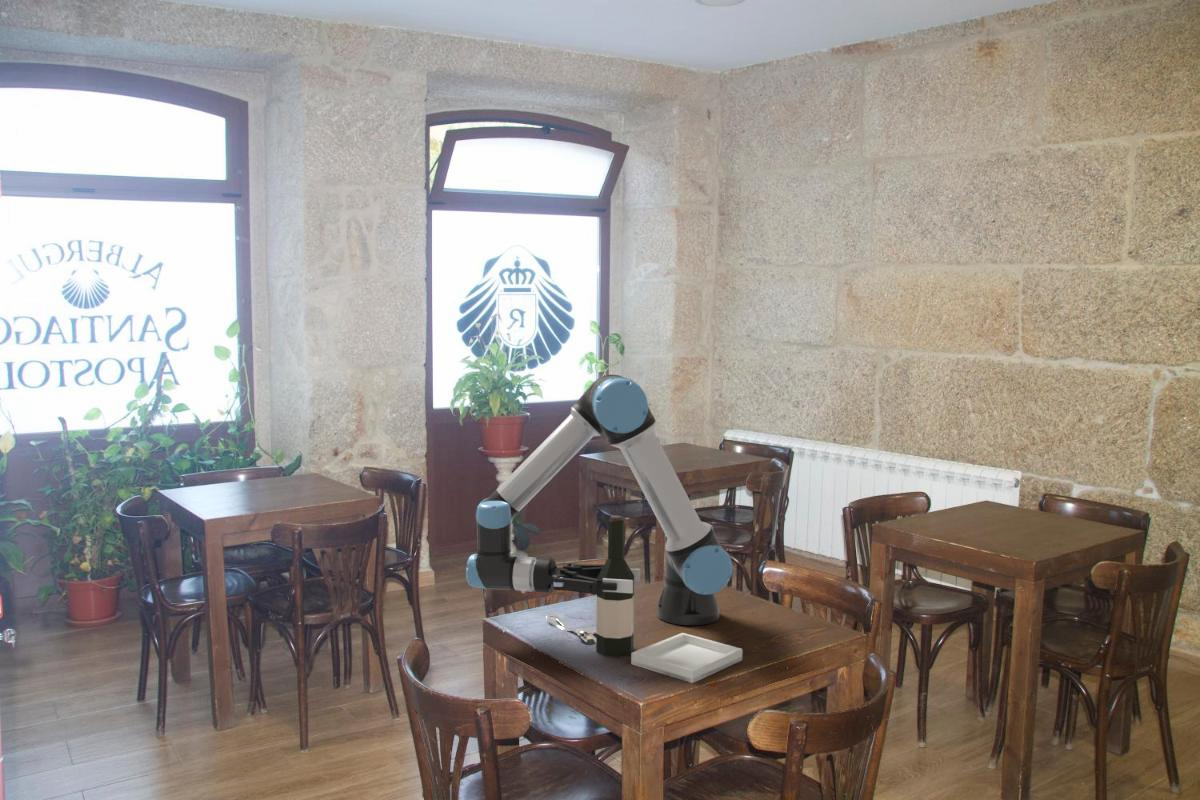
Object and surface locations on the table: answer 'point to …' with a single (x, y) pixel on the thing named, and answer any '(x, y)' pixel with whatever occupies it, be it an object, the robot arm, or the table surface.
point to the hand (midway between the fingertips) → (636, 580)
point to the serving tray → (686, 657)
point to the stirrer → (583, 633)
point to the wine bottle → (615, 599)
